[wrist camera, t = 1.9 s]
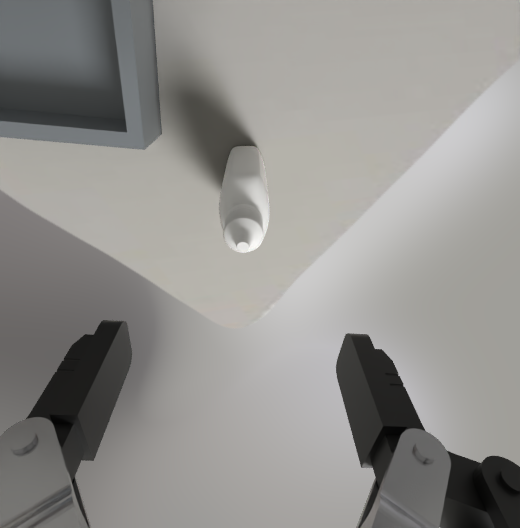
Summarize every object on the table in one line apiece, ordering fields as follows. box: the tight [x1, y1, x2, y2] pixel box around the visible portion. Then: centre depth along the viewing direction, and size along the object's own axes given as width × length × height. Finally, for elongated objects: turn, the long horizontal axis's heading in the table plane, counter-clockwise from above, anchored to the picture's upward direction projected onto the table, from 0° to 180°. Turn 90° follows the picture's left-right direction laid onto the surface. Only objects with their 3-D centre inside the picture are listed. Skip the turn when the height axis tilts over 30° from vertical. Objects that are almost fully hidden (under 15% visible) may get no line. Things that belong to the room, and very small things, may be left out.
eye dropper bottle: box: [219, 146, 270, 253], centre depth 23 cm, size 4×6×12 cm
